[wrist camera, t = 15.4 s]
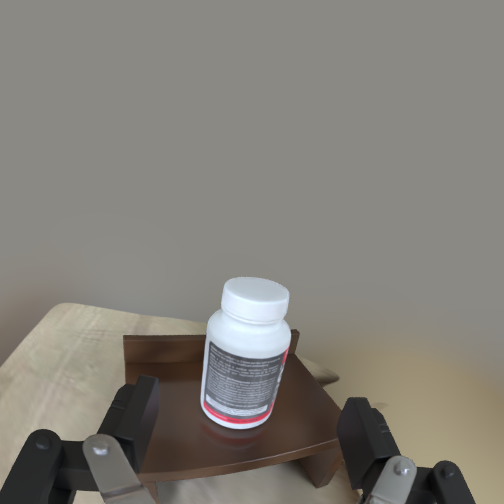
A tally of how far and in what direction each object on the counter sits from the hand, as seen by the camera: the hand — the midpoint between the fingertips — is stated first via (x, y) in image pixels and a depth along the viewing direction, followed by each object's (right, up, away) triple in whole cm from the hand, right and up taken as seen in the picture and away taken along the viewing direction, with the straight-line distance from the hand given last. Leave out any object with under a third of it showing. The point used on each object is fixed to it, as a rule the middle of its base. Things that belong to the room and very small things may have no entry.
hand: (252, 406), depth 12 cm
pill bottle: (-1, -5, +10) cm, 11 cm away
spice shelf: (-3, -12, +12) cm, 18 cm away
